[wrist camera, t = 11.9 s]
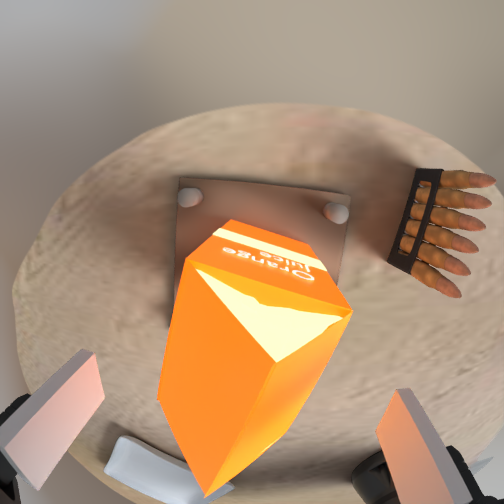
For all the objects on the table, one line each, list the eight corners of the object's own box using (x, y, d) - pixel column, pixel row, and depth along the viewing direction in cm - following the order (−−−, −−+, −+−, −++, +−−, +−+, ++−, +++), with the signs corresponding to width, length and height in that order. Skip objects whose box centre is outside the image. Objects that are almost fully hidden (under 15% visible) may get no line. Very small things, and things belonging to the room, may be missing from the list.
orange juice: (205, 302, 28) (119, 470, 8) (229, 218, 26) (121, 307, 6) (279, 325, 28) (288, 512, 8) (310, 244, 26) (406, 385, 6)
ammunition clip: (399, 267, 27) (462, 311, 16) (386, 262, 27) (447, 305, 16) (429, 175, 25) (504, 174, 13) (416, 168, 25) (490, 163, 13)
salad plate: (107, 462, 40) (101, 473, 37) (126, 422, 36) (118, 436, 32) (194, 502, 42) (191, 513, 38) (239, 473, 37) (237, 487, 34)
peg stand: (318, 348, 30) (325, 371, 25) (178, 332, 30) (166, 353, 26) (346, 195, 26) (361, 196, 22) (184, 177, 26) (168, 176, 22)
